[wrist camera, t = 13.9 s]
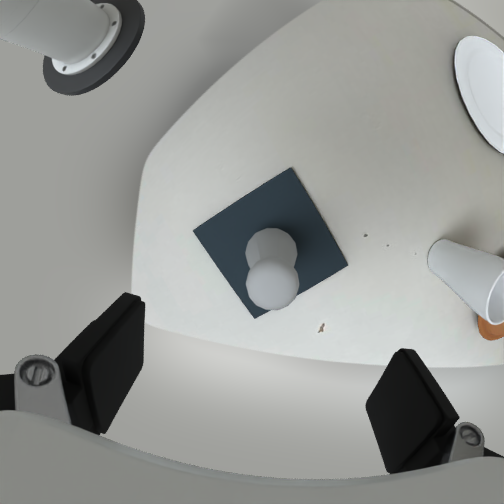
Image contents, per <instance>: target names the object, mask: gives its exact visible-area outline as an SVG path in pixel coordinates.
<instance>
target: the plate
mask: <svg viewBox="0 0 504 504" xmlns="http://www.w3.org/2000/svg"><path fill="white" fill-rule="evenodd" d="M454 68H455V75H456V81H457V84H458V87H459V90H460V94H461V97H462V99H463V101H464V104H465V106H466V108H467V111H468V113H469V115H470V117H471V118H472V120H473V122H474V123H475V125H476V127H477V129H478V130H479V132H480V133H481V134H482V135H483V137H484V138H485V139H486V140H487V142H488V143H489V144H490V145H492V146H493V147H494V148H495V149H496V150H497V151H499V152H500V153H503V154H504V52H502V51H501V50H500V49H499V48H498V47H497V46H496V45H494V44H493V43H491V42H490V41H488V40H486V39H485V38H481V37H478V36H466V37H465V38H463V39H462V40H461V41H459V43H458V45H457V47H456V49H455V56H454Z"/></svg>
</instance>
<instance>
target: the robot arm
mask: <svg viewBox="0 0 504 504" xmlns="http://www.w3.org/2000/svg"><path fill="white" fill-rule="evenodd" d="M121 26H122V17H121V13H120V11H119V10H118V9H117V8H116V7H115V6H113V5H112V4H108V3H100V4H94V3H93V2H92V1H90V0H0V39H1V40H4V41H7V42H10V43H13V44H16V45H19V46H22V47H25V48H27V49H30V50H33V51H35V52H38V53H40V54H43V55H46V56H48V57H51V58H52V63H53V66H54V68H55V69H56V70H57V71H58V72H59V73H62V74H64V75H76V74H79V73H82V72H84V71H86V70H88V69H89V68H91V67H92V66H94V65H95V64H96V63H97V62H98V61H100V60H101V59H102V58H103V57H104V56H105V54H106V53H107V52H108V51H109V50H110V48H111V47H112V46H113V44H114V42H115V41H116V39H117V37H118V35H119V33H120V29H121ZM144 320H145V302H142V301H141V297H140V296H136V295H133V294H130V293H126V292H125V293H123V294H122V295H121V296H120V297H119V298H118V299H117V300H116V301H115V302H114V303H113V304H112V305H111V306H110V307H109V308H108V309H107V310H106V311H105V312H103V313H102V315H101V316H99V317H98V318H97V319H96V320H94V321H93V322H91V323H90V324H89V325H88V326H87V327H86V328H85V329H84V330H83V331H82V332H81V333H80V334H79V335H78V336H77V337H76V338H75V339H74V340H73V341H72V342H71V343H70V344H69V345H68V346H67V347H66V348H65V349H64V350H63V351H62V353H61V354H60V355H59V356H58V357H57V358H56V359H55V360H53V359H51V358H50V357H47V356H44V355H30V356H27V357H25V358H23V359H22V360H20V361H19V362H18V364H17V365H16V367H15V373H14V374H7V375H0V504H504V457H503V456H501V455H499V454H497V453H495V452H493V451H491V450H489V449H487V448H485V447H484V436H483V433H482V432H481V430H480V429H479V428H478V427H477V426H476V425H474V424H472V423H469V422H462V423H460V424H459V425H458V426H457V427H456V428H455V426H454V424H455V423H456V422H457V420H458V419H459V416H458V414H457V412H456V411H455V409H454V408H453V406H452V404H451V403H450V401H449V400H448V398H447V397H446V395H445V394H444V392H443V391H442V389H441V387H440V386H439V384H438V383H437V382H436V380H435V379H434V377H433V376H432V374H431V373H430V371H429V370H428V368H427V367H426V365H425V364H424V363H423V361H422V360H421V358H420V357H419V355H418V354H417V353H416V351H415V350H413V349H404V348H401V349H399V350H398V352H395V353H394V355H393V357H392V358H391V360H390V362H389V364H388V366H387V368H386V369H385V371H384V373H383V375H382V376H381V378H380V380H379V382H378V384H377V385H376V387H375V388H374V390H373V392H372V393H371V395H370V397H369V398H368V400H367V402H366V411H367V414H368V417H369V419H370V422H371V425H372V428H373V431H374V434H375V437H376V440H377V443H378V446H379V449H380V452H381V455H382V458H383V461H384V464H385V468H386V470H387V472H388V473H390V474H389V475H381V476H372V477H362V478H348V479H286V478H272V477H261V476H252V475H243V474H237V473H230V472H224V471H218V470H213V469H208V468H203V467H199V466H194V465H190V464H186V463H181V462H178V461H174V460H170V459H166V458H163V457H160V456H156V455H153V454H150V453H146V452H143V451H140V450H137V449H134V448H131V447H128V446H126V445H123V444H120V443H117V442H114V441H112V440H110V439H107V438H104V437H102V436H99V435H100V433H103V434H105V433H106V432H107V430H108V428H109V427H110V425H111V423H112V421H113V419H114V417H115V415H116V413H117V412H118V410H119V408H120V406H121V404H122V403H123V401H124V399H125V397H126V396H127V394H128V392H129V390H130V388H131V387H132V385H133V383H134V381H135V380H136V378H137V376H138V374H139V372H140V371H141V369H142V366H143V358H144V357H143V355H144Z"/></svg>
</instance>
